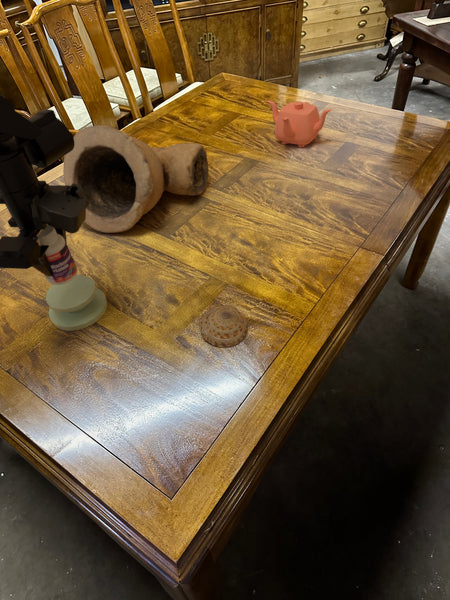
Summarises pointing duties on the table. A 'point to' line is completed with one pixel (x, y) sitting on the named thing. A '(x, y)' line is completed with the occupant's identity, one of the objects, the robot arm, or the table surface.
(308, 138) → the teapot
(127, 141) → the pipe
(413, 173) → the table surface
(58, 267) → the pill bottle
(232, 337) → the seashell
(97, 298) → the stand
